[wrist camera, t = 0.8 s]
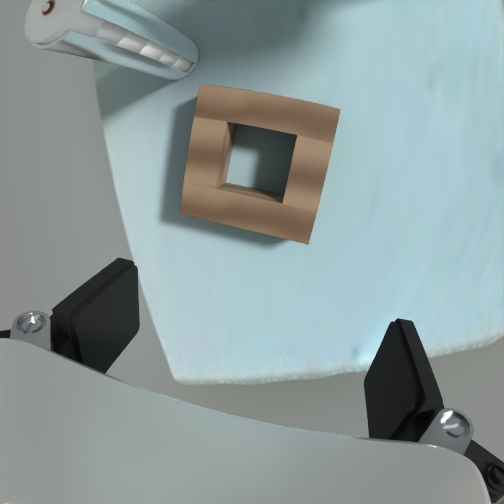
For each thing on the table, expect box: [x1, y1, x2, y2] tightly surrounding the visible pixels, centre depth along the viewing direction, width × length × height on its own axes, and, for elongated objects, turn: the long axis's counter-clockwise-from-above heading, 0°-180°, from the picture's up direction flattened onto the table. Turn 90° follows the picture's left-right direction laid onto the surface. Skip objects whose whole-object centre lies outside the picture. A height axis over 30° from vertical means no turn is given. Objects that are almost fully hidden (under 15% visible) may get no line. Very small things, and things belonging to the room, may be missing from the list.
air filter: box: [24, 0, 199, 80], centre depth 25 cm, size 6×6×25 cm
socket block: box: [180, 84, 340, 244], centre depth 37 cm, size 16×16×5 cm
